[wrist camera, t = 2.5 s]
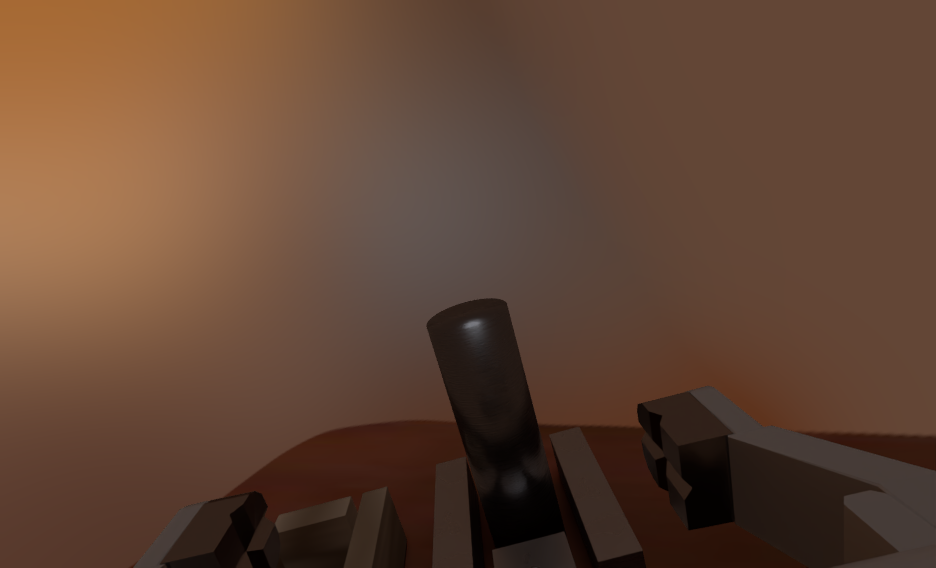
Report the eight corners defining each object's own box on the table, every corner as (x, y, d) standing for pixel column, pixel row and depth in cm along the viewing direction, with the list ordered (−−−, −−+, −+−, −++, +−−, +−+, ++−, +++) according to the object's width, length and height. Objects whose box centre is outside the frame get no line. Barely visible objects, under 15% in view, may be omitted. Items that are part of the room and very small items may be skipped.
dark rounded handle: (557, 507, 27) (501, 292, 23) (575, 564, 23) (512, 316, 19) (493, 523, 27) (428, 312, 23) (501, 583, 23) (424, 340, 19)
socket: (587, 465, 29) (579, 426, 29) (653, 602, 20) (642, 550, 19) (448, 501, 29) (436, 464, 29) (449, 653, 20) (431, 604, 19)
